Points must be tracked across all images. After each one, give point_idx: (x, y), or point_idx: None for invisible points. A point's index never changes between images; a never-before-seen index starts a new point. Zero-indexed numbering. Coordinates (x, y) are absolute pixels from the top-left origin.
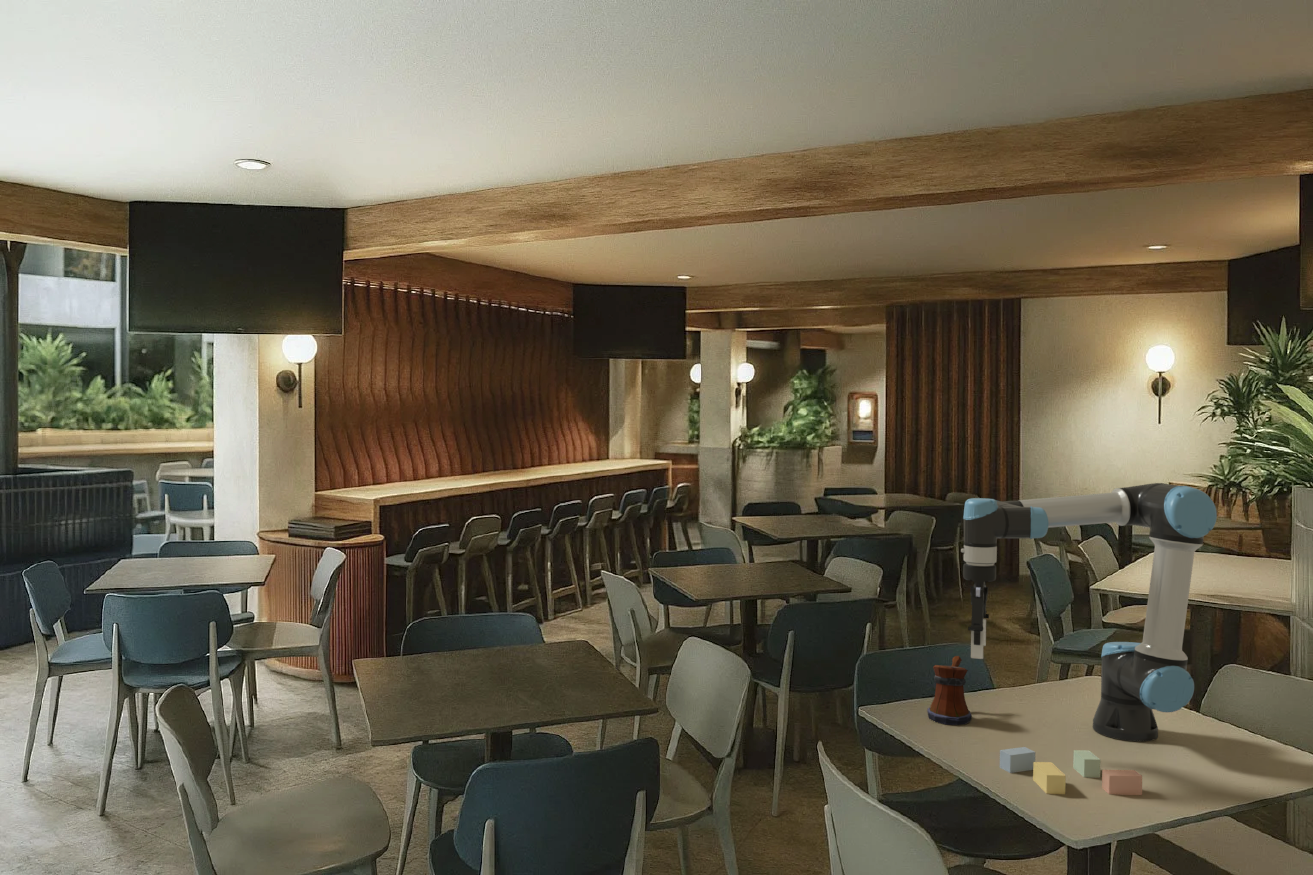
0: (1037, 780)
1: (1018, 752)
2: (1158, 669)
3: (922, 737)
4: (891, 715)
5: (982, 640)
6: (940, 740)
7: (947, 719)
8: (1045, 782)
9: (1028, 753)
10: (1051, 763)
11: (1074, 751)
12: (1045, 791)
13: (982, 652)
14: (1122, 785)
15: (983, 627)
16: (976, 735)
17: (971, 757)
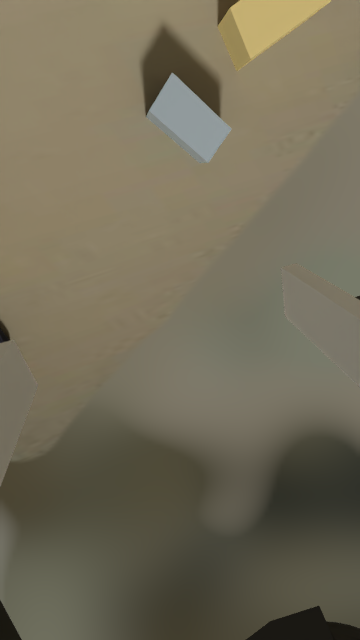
0: (263, 51)
1: (200, 115)
2: None
3: (119, 343)
4: (36, 427)
5: (352, 300)
6: (113, 312)
7: (5, 341)
8: (313, 14)
9: (189, 89)
10: (238, 6)
11: None
12: (303, 22)
13: (313, 275)
14: None
15: None
16: (28, 267)
17: (174, 231)
